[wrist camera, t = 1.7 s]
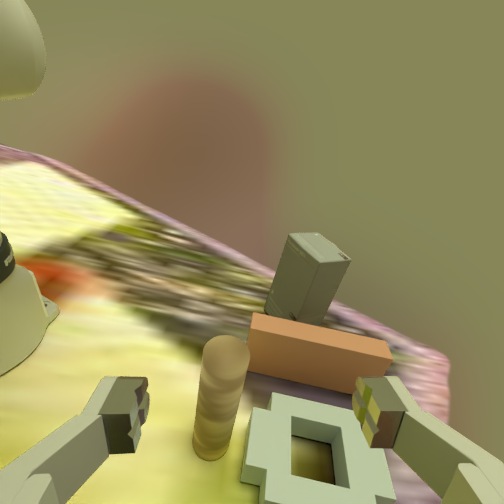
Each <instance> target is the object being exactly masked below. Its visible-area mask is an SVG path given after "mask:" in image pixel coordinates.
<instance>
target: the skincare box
mask: <svg viewBox="0 0 504 504" xmlns="http://www.w3.org/2000/svg"><path fill="white" fill-rule="evenodd" d="M350 262H351V259H350V258H349V257H348V256H347V255H345V254H344V253H343V252H342V251H340V250H339V249H338V247H337V246H336V245H335V244H333V243H332V242H330V241H328V240H327V239H326V238H324V237H323V236H322V235H321V234H319V233H291V234H289V235H288V238H287V241H286V244H285V247H284V250H283V253H282V257H281V259H280V262H279V265H278V268H277V271H276V274H275V277H274V280H273V283H272V286H271V289H270V292H269V295H268V298H267V301H266V304H265V307H264V310H265V311H266V313H268V315H269V316H273V317H278V318H282V319H287V320H291V321H296V322H300V323H305V324H310V325H314V326H319V327H320V325H321V323H322V321H323V319H324V316H325V314H326V312H327V310H328V308H329V306H330V304H331V302H332V299H333V297H334V295H335V293H336V291H337V289H338V287H339V285H340V283H341V281H342V278H343V276H344V274H345V272H346V270H347V268H348V266H349V264H350Z"/></svg>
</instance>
